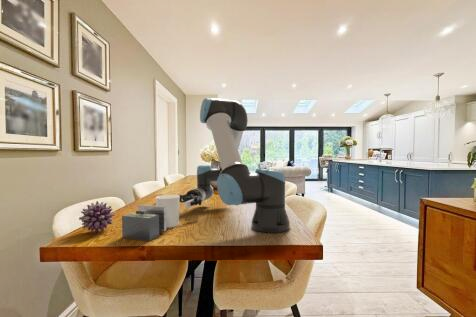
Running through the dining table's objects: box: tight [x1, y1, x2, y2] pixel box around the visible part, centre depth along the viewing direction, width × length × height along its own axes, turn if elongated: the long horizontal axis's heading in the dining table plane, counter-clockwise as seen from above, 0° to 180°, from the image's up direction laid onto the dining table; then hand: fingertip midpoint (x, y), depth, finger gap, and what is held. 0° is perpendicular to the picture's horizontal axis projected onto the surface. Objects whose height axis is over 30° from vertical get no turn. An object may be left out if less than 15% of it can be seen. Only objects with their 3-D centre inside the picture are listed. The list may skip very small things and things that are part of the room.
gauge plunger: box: [135, 204, 167, 232], centre depth 89 cm, size 12×7×9 cm, turn 71°
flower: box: [78, 200, 116, 233], centre depth 93 cm, size 12×12×12 cm
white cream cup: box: [155, 194, 181, 229], centre depth 101 cm, size 10×10×12 cm
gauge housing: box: [121, 212, 160, 242], centre depth 87 cm, size 12×5×8 cm, turn 71°
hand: (172, 204), depth 106 cm, fingers open, 13 cm apart
